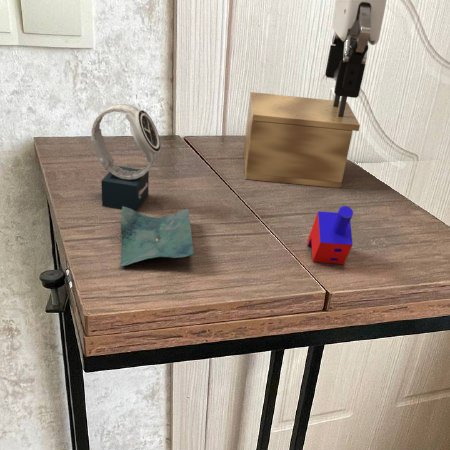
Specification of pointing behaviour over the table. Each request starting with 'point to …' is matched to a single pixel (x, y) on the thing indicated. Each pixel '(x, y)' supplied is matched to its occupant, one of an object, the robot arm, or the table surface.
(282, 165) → the case
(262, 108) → the case lid
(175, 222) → the terrain model
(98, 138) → the watch
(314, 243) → the toy building block
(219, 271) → the table surface
